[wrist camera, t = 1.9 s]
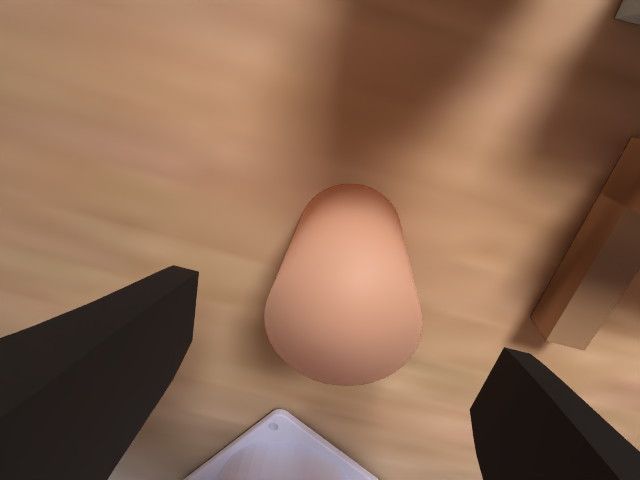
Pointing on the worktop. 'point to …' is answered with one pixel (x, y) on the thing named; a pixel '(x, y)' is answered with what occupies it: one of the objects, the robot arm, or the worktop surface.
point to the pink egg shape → (345, 291)
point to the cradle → (596, 260)
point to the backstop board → (629, 11)
